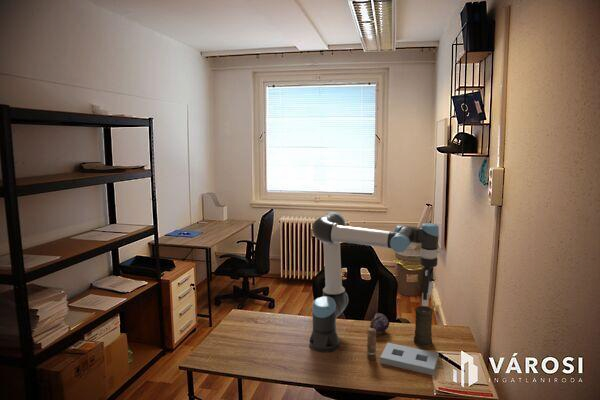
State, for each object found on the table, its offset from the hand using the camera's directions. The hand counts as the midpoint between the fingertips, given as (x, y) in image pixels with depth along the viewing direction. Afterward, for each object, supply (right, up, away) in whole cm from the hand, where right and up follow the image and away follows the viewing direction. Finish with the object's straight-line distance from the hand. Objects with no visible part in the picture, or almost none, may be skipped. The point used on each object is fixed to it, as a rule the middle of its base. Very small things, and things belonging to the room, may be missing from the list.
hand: (427, 299), depth 195 cm
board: (-9, -28, -2) cm, 30 cm away
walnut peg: (-26, -28, +2) cm, 38 cm away
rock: (-17, -23, +26) cm, 39 cm away
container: (+2, -25, +14) cm, 29 cm away
